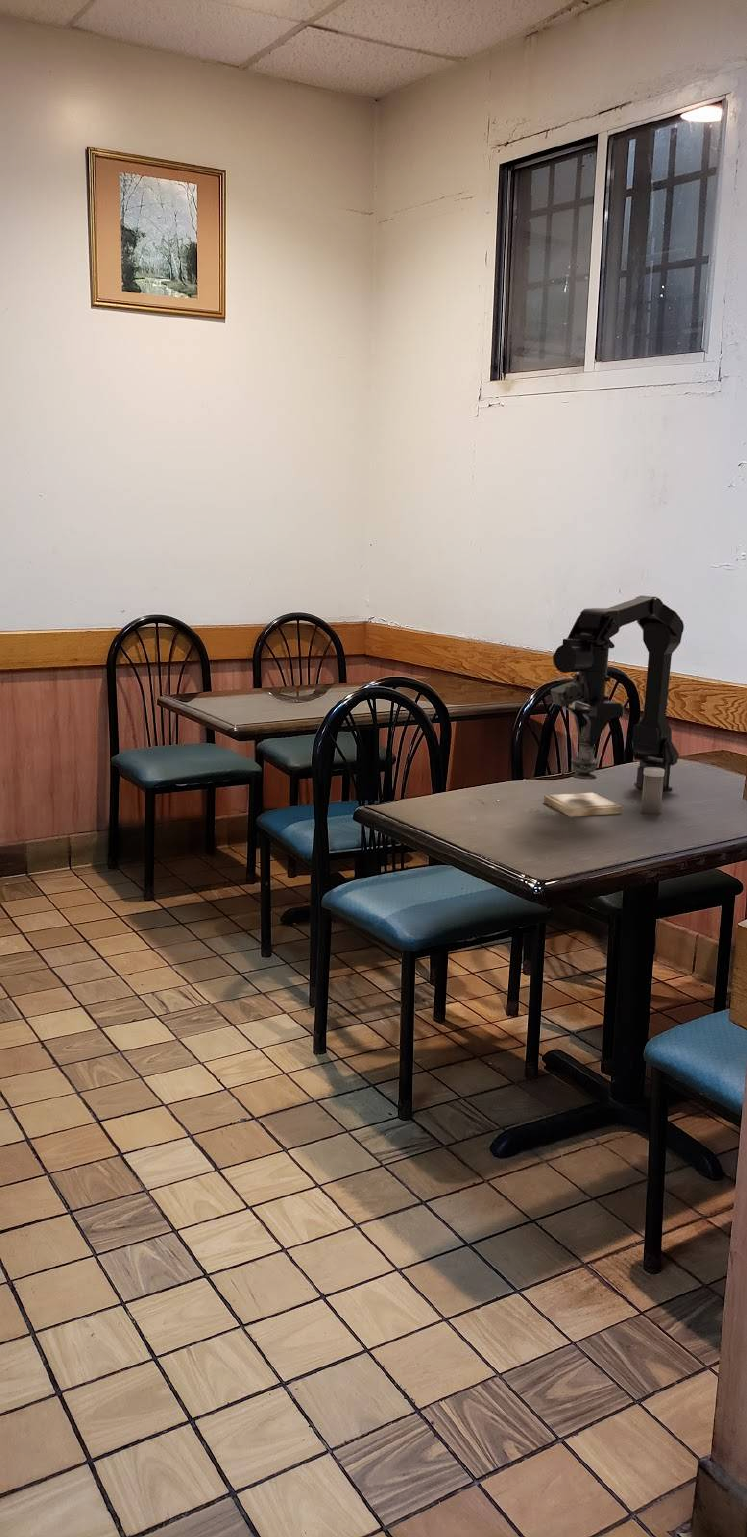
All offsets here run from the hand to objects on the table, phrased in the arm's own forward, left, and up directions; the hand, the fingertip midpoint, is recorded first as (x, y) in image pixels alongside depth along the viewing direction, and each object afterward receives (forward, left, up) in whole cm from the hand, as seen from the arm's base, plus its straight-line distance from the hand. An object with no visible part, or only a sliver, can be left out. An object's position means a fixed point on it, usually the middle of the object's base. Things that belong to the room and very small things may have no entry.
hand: (586, 744), depth 249 cm
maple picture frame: (+1, +1, -14) cm, 14 cm away
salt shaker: (0, 0, -7) cm, 7 cm away
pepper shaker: (-12, +7, -14) cm, 20 cm away
